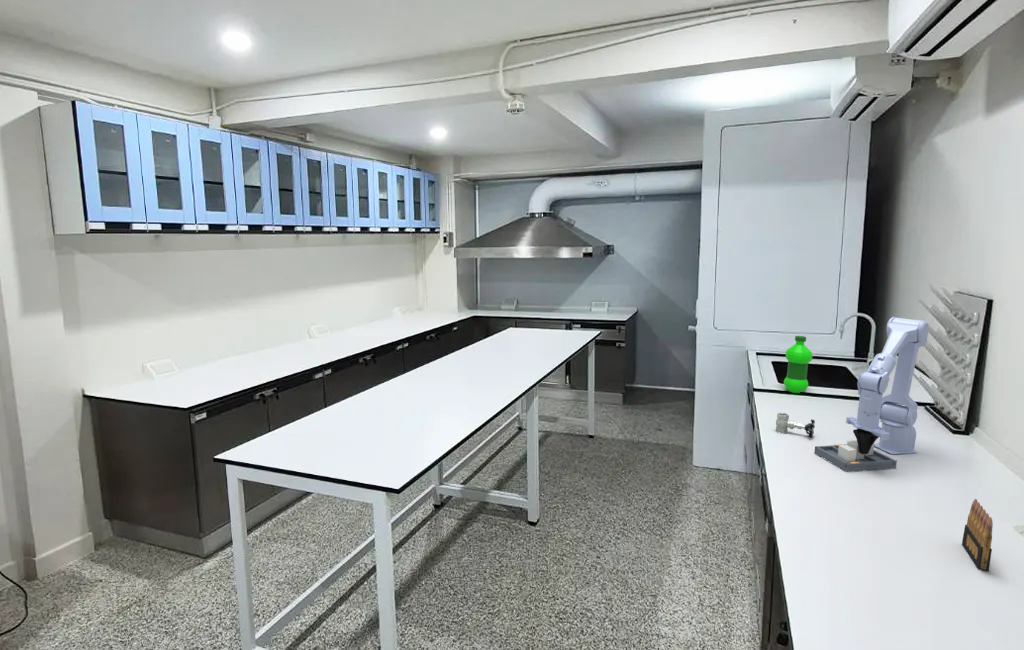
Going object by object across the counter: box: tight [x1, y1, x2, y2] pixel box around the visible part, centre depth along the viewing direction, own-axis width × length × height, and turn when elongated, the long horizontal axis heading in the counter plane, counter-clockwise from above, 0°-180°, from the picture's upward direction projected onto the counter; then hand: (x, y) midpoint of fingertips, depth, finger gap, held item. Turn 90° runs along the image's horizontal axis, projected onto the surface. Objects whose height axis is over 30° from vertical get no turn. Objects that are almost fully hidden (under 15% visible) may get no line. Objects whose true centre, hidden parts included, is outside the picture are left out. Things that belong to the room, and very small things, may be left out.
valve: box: [775, 412, 816, 439], centre depth 197 cm, size 7×7×12 cm
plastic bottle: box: [783, 335, 813, 394], centre depth 246 cm, size 10×10×25 cm
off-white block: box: [846, 440, 864, 459], centre depth 175 cm, size 3×4×4 cm
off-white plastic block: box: [838, 444, 857, 463], centre depth 171 cm, size 3×4×4 cm
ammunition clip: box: [961, 498, 994, 572], centre depth 123 cm, size 11×2×12 cm, turn 156°
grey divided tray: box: [813, 443, 898, 473], centre depth 175 cm, size 17×14×3 cm
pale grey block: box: [867, 441, 876, 455], centre depth 178 cm, size 3×4×4 cm
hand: (863, 453), depth 171 cm, fingers closed
